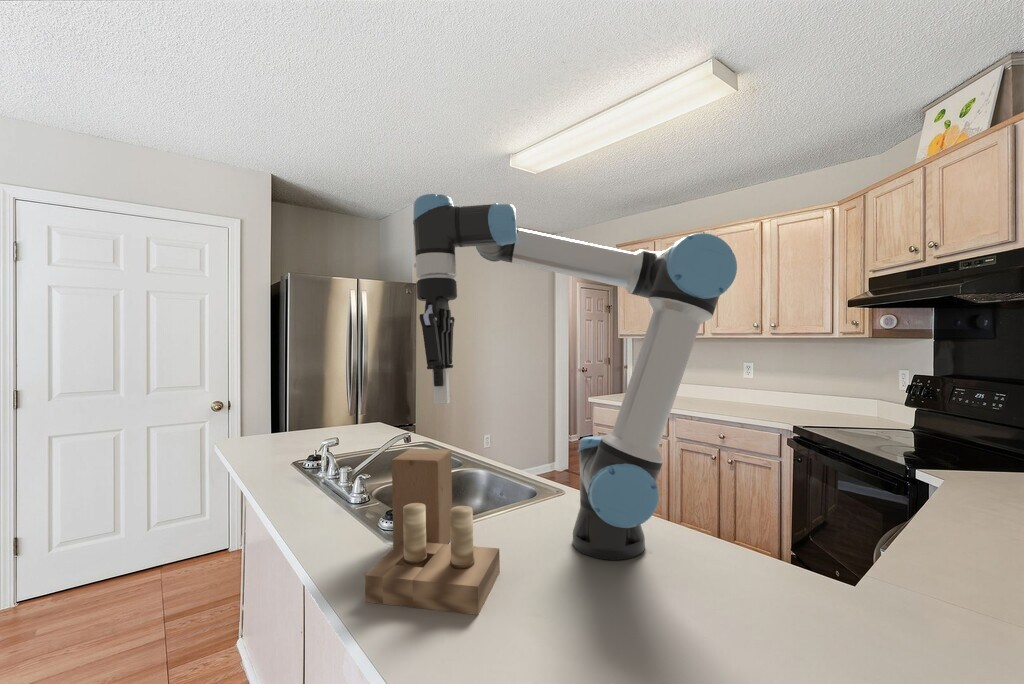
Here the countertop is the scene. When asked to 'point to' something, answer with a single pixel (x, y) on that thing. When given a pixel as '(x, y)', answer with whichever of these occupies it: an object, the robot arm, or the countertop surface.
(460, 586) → the board
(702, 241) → the robot arm
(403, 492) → the wooden block
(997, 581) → the countertop surface
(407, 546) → the peg
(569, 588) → the countertop surface
